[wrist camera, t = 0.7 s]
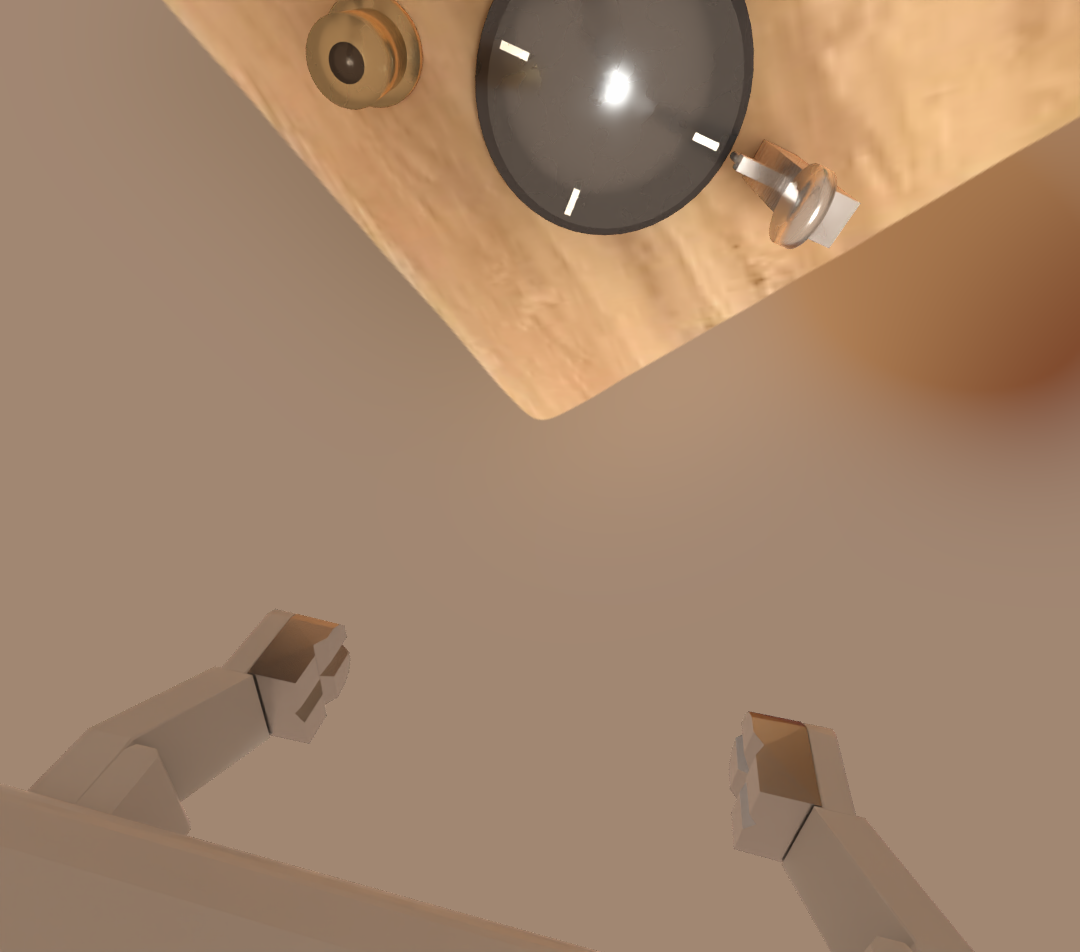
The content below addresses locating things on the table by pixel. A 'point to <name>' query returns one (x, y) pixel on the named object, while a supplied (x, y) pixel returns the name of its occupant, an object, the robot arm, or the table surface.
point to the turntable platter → (614, 102)
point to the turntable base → (483, 114)
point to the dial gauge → (796, 196)
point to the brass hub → (365, 54)
